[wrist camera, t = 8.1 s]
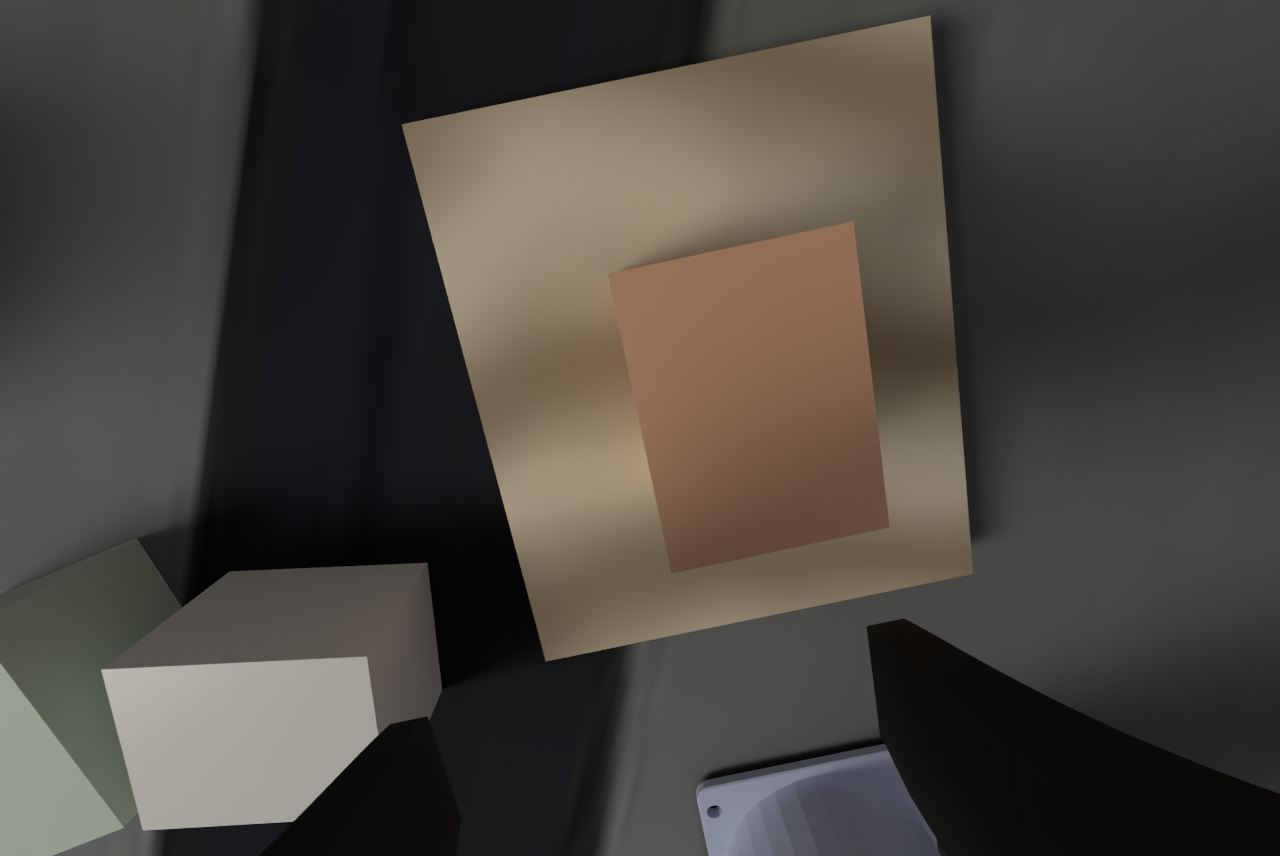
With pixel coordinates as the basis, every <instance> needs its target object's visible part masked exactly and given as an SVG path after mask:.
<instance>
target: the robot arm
mask: <svg viewBox="0 0 1280 856" xmlns="http://www.w3.org/2000/svg"><path fill="white" fill-rule="evenodd" d="M867 633H868V641H869V649H870V657H871V665H872V673H873V681H874V689H875V697H876V705H877V713H878V721H879V729H880V734H881V736H882V739H883V741H884V743H885V744H880V745H876V746H871V747H866V748H861V749H856V750H851V751H846V752H841V753H836V754H832V755H827V756H822V757H817V758H812V759H807V760H802V761H797V762H792V763H788V764H783V765H778V766H773V767H768V768H763V769H758V770H753V771H748V772H744V773H739V774H734V775H729V776H724V777H719V778H714V779H709V780H706V781H703V782H702V783H701V784H699V785H698V787H697V789H696V797H697V803H698V807H699V812H700V817H701V821H702V826H703V831H704V835H705V840H706V845H707V849H708V854H709V856H941V855H940V853H939V851H938V847H937V840H938V842H939V844H940V845H941V847H942V848H943V850H944V852H945V853H946V855H947V856H1280V794H1279V793H1276V792H1273V791H1270V790H1268V789H1265V788H1262V787H1259V786H1256V785H1253V784H1250V783H1248V782H1245V781H1242V780H1240V779H1237V778H1234V777H1232V776H1229V775H1226V774H1224V773H1221V772H1218V771H1216V770H1213V769H1210V768H1208V767H1205V766H1203V765H1200V764H1198V763H1195V762H1193V761H1191V760H1188V759H1186V758H1183V757H1181V756H1178V755H1176V754H1173V753H1171V752H1168V751H1166V750H1164V749H1161V748H1159V747H1156V746H1154V745H1151V744H1149V743H1146V742H1144V741H1142V740H1139V739H1137V738H1135V737H1132V736H1130V735H1128V734H1126V733H1123V732H1121V731H1119V730H1117V729H1114V728H1112V727H1110V726H1108V725H1106V724H1104V723H1101V722H1099V721H1097V720H1095V719H1093V718H1091V717H1089V716H1087V715H1085V714H1082V713H1080V712H1078V711H1076V710H1074V709H1072V708H1070V707H1068V706H1066V705H1064V704H1061V703H1059V702H1057V701H1055V700H1053V699H1051V698H1050V697H1048V696H1046V695H1044V694H1042V693H1040V692H1038V691H1036V690H1034V689H1032V688H1030V687H1028V686H1026V685H1024V684H1022V683H1020V682H1018V681H1016V680H1015V679H1013V678H1011V677H1009V676H1007V675H1005V674H1003V673H1002V672H1000V671H998V670H996V669H994V668H992V667H991V666H989V665H987V664H985V663H983V662H981V661H980V660H978V659H976V658H974V657H972V656H971V655H969V654H967V653H965V652H964V651H962V650H960V649H958V648H956V647H955V646H953V645H951V644H949V643H948V642H946V641H944V640H942V639H940V638H939V637H937V636H935V635H933V634H932V633H930V632H928V631H926V630H924V629H923V628H921V627H919V626H917V625H915V624H913V623H912V622H910V621H908V620H906V619H900V620H895V621H890V622H885V623H880V624H875V625H870V626H867ZM713 805H717V806H718V807H716V808H709V807H711V806H713ZM460 825H461V816H460V813H459V810H458V807H457V804H456V801H455V798H454V795H453V792H452V789H451V786H450V783H449V780H448V777H447V774H446V771H445V768H444V765H443V762H442V759H441V756H440V753H439V750H438V746H437V743H436V740H435V737H434V734H433V731H432V728H431V725H430V722H429V719H428V716H426V717H421V718H416V719H411V720H406V721H402V722H397V723H392V724H390V725H389V726H388V727H387V728H385V729H384V730H383V731H382V732H381V733H380V734H379V735H378V736H377V737H376V738H375V739H374V740H373V741H372V742H371V743H370V744H369V745H368V746H367V747H366V748H365V749H364V750H363V751H362V752H361V753H360V754H359V755H358V756H357V757H356V758H355V759H354V760H353V761H352V762H351V763H350V764H349V765H348V766H347V767H346V768H345V769H344V770H343V771H342V772H341V773H340V774H339V775H338V776H337V777H336V778H335V779H334V781H333V782H332V783H331V784H330V785H329V786H328V787H327V788H326V789H325V790H324V791H323V792H322V793H321V794H320V795H319V796H318V797H317V798H316V799H315V800H314V801H313V802H312V803H311V804H310V805H309V806H308V807H307V808H306V809H305V810H304V811H303V812H302V813H301V814H300V815H299V816H298V817H297V818H296V819H295V821H294V822H293V823H292V824H291V825H290V826H289V827H288V828H287V829H286V830H285V831H284V832H283V833H282V834H281V835H280V836H279V837H278V838H277V839H276V840H275V841H274V842H273V843H271V844H270V845H269V846H268V847H267V848H266V849H265V850H264V851H263V852H262V853H261V854H260V855H259V856H456V853H457V846H458V839H459V832H460Z"/></svg>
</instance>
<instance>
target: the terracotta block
mask: <svg viewBox="0 0 1280 856" xmlns="http://www.w3.org/2000/svg"><path fill="white" fill-rule="evenodd" d="M608 278H609V283H610V288H611V292H612V297H613V302H614V306H615V311H616V316H617V320H618V325H619V330H620V335H621V339H622V344H623V349H624V353H625V358H626V363H627V367H628V372H629V377H630V381H631V386H632V391H633V395H634V400H635V405H636V409H637V414H638V419H639V424H640V428H641V433H642V438H643V442H644V447H645V452H646V456H647V461H648V466H649V470H650V475H651V480H652V484H653V489H654V494H655V498H656V503H657V508H658V513H659V517H660V522H661V527H662V531H663V536H664V541H665V545H666V550H667V555H668V559H669V564H670V569H671V573H677V572H682V571H686V570H691V569H696V568H701V567H705V566H710V565H715V564H719V563H724V562H729V561H734V560H738V559H743V558H748V557H752V556H757V555H762V554H767V553H771V552H776V551H781V550H785V549H790V548H795V547H800V546H804V545H809V544H814V543H819V542H823V541H828V540H833V539H837V538H842V537H847V536H852V535H856V534H861V533H866V532H870V531H875V530H880V529H885V528H889V527H890V526H889V517H888V509H887V500H886V492H885V483H884V475H883V466H882V458H881V450H880V441H879V433H878V424H877V416H876V407H875V399H874V390H873V382H872V373H871V365H870V356H869V348H868V339H867V331H866V323H865V314H864V306H863V297H862V289H861V280H860V272H859V263H858V255H857V246H856V238H855V229H854V221H853V222H848V223H843V224H839V225H834V226H829V227H825V228H820V229H815V230H811V231H806V232H801V233H797V234H792V235H787V236H783V237H778V238H773V239H769V240H764V241H759V242H755V243H750V244H745V245H740V246H736V247H731V248H726V249H722V250H717V251H712V252H708V253H703V254H698V255H694V256H689V257H684V258H680V259H675V260H670V261H666V262H661V263H656V264H652V265H647V266H642V267H638V268H633V269H628V270H624V271H619V272H614V273H609V274H608Z"/></svg>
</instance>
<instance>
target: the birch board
mask: <svg viewBox="0 0 1280 856" xmlns="http://www.w3.org/2000/svg"><path fill="white" fill-rule="evenodd" d="M402 127H403V131H404V135H405V138H406V142H407V146H408V149H409V153H410V157H411V161H412V164H413V168H414V172H415V176H416V179H417V183H418V187H419V190H420V194H421V198H422V202H423V205H424V209H425V213H426V217H427V220H428V224H429V228H430V231H431V235H432V239H433V243H434V246H435V250H436V254H437V258H438V261H439V265H440V269H441V272H442V276H443V280H444V284H445V287H446V291H447V295H448V299H449V302H450V306H451V310H452V313H453V317H454V321H455V325H456V328H457V332H458V336H459V339H460V343H461V347H462V351H463V354H464V358H465V362H466V366H467V369H468V373H469V377H470V380H471V384H472V388H473V392H474V395H475V399H476V403H477V407H478V410H479V414H480V418H481V421H482V425H483V429H484V433H485V436H486V440H487V444H488V448H489V451H490V455H491V459H492V462H493V466H494V470H495V474H496V477H497V481H498V485H499V488H500V492H501V496H502V500H503V503H504V507H505V511H506V515H507V518H508V522H509V526H510V529H511V533H512V537H513V541H514V544H515V548H516V552H517V556H518V559H519V563H520V567H521V570H522V574H523V578H524V582H525V585H526V589H527V593H528V597H529V600H530V604H531V608H532V611H533V615H534V619H535V623H536V626H537V630H538V634H539V637H540V641H541V645H542V649H543V652H544V656H545V660H546V661H550V660H555V659H560V658H565V657H570V656H575V655H580V654H584V653H589V652H594V651H599V650H604V649H609V648H614V647H619V646H624V645H628V644H633V643H638V642H643V641H648V640H653V639H658V638H663V637H668V636H672V635H677V634H682V633H687V632H692V631H697V630H702V629H707V628H711V627H716V626H721V625H726V624H731V623H736V622H741V621H746V620H751V619H755V618H760V617H765V616H770V615H775V614H780V613H785V612H790V611H794V610H799V609H804V608H809V607H814V606H819V605H824V604H829V603H834V602H838V601H843V600H848V599H853V598H858V597H863V596H868V595H873V594H878V593H882V592H887V591H892V590H897V589H902V588H907V587H912V586H917V585H921V584H926V583H931V582H936V581H941V580H946V579H951V578H956V577H961V576H965V575H970V574H973V567H972V554H971V540H970V527H969V514H968V501H967V488H966V475H965V462H964V449H963V436H962V423H961V410H960V397H959V384H958V371H957V358H956V345H955V331H954V318H953V305H952V292H951V279H950V266H949V253H948V240H947V227H946V214H945V201H944V188H943V175H942V162H941V149H940V136H939V123H938V109H937V96H936V83H935V70H934V57H933V44H932V31H931V18H930V16H926V17H921V18H916V19H911V20H907V21H902V22H897V23H892V24H887V25H882V26H878V27H873V28H868V29H863V30H858V31H853V32H848V33H844V34H839V35H834V36H829V37H824V38H819V39H814V40H810V41H805V42H800V43H795V44H790V45H785V46H780V47H776V48H771V49H766V50H761V51H756V52H751V53H746V54H742V55H737V56H732V57H727V58H722V59H717V60H713V61H708V62H703V63H698V64H693V65H688V66H683V67H679V68H674V69H669V70H664V71H659V72H654V73H649V74H645V75H640V76H635V77H630V78H625V79H620V80H615V81H611V82H606V83H601V84H596V85H591V86H586V87H582V88H577V89H572V90H567V91H562V92H557V93H552V94H548V95H543V96H538V97H533V98H528V99H523V100H518V101H514V102H509V103H504V104H499V105H494V106H489V107H484V108H480V109H475V110H470V111H465V112H460V113H455V114H450V115H446V116H441V117H436V118H431V119H426V120H421V121H417V122H412V123H407V124H402ZM853 221H854V229H855V238H856V246H857V255H858V263H859V272H860V280H861V289H862V297H863V306H864V314H865V323H866V331H867V339H868V348H869V356H870V365H871V373H872V382H873V390H874V399H875V407H876V416H877V424H878V433H879V441H880V450H881V458H882V466H883V475H884V483H885V492H886V500H887V509H888V517H889V526H890V527H889V528H885V529H880V530H875V531H870V532H866V533H861V534H856V535H852V536H847V537H842V538H837V539H833V540H828V541H823V542H819V543H814V544H809V545H804V546H800V547H795V548H790V549H785V550H781V551H776V552H771V553H767V554H762V555H757V556H752V557H748V558H743V559H738V560H734V561H729V562H724V563H719V564H715V565H710V566H705V567H701V568H696V569H691V570H686V571H682V572H677V573H671V569H670V564H669V559H668V555H667V550H666V545H665V541H664V536H663V531H662V527H661V522H660V517H659V513H658V508H657V503H656V498H655V494H654V489H653V484H652V480H651V475H650V470H649V466H648V461H647V456H646V452H645V447H644V442H643V438H642V433H641V428H640V424H639V419H638V414H637V409H636V405H635V400H634V395H633V391H632V386H631V381H630V377H629V372H628V367H627V363H626V358H625V353H624V349H623V344H622V339H621V335H620V330H619V325H618V320H617V316H616V311H615V306H614V302H613V297H612V292H611V288H610V283H609V278H608V274H609V273H614V272H619V271H624V270H628V269H633V268H638V267H642V266H647V265H652V264H656V263H661V262H666V261H670V260H675V259H680V258H684V257H689V256H694V255H698V254H703V253H708V252H712V251H717V250H722V249H726V248H731V247H736V246H740V245H745V244H750V243H755V242H759V241H764V240H769V239H773V238H778V237H783V236H787V235H792V234H797V233H801V232H806V231H811V230H815V229H820V228H825V227H829V226H834V225H839V224H843V223H848V222H853Z"/></svg>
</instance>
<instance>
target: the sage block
mask: <svg viewBox="0 0 1280 856" xmlns="http://www.w3.org/2000/svg"><path fill="white" fill-rule="evenodd" d="M181 608H182V606H181V605H180V603H179V602H178V600H177V599H176V597H175V596H174V594H173V593H172V591H171V590H170V588H169V587H168V585H167V584H166V582H165V581H164V579H163V577H162V576H161V574H160V573H159V571H158V570H157V568H156V567H155V565H154V564H153V562H152V561H151V559H150V558H149V556H148V555H147V553H146V552H145V550H144V549H143V547H142V545H141V544H140V542H139V541H138V539H137V538H135V539H133V540H130V541H128V542H125V543H123V544H120V545H118V546H116V547H113V548H111V549H108V550H106V551H103V552H101V553H99V554H96V555H94V556H91V557H89V558H86V559H84V560H82V561H79V562H77V563H74V564H72V565H69V566H67V567H64V568H62V569H60V570H57V571H55V572H52V573H50V574H47V575H45V576H43V577H40V578H38V579H35V580H33V581H30V582H28V583H26V584H23V585H21V586H18V587H16V588H13V589H11V590H9V591H6V592H4V593H2V594H0V856H52V855H55V854H58V853H60V852H63V851H65V850H68V849H70V848H73V847H76V846H78V845H81V844H83V843H86V842H88V841H91V840H94V839H96V838H99V837H101V836H104V835H106V834H109V833H112V832H114V831H117V830H119V829H122V828H124V827H125V826H126V825H127V824H128V823H129V822H130V820H131V819H132V818H133V817H134V816H135V815H136V814H137V813H138V810H137V806H136V802H135V798H134V794H133V791H132V787H131V783H130V779H129V775H128V771H127V767H126V764H125V760H124V756H123V752H122V748H121V744H120V741H119V737H118V733H117V729H116V725H115V721H114V717H113V714H112V710H111V706H110V702H109V698H108V694H107V691H106V687H105V683H104V679H103V675H102V671H101V669H102V668H104V667H105V666H106V665H108V664H109V663H110V662H112V661H113V660H114V659H116V658H117V657H118V656H120V655H121V654H122V653H123V652H125V651H126V650H127V649H129V648H130V647H131V646H133V645H134V644H135V643H137V642H138V641H139V640H140V639H142V638H143V637H144V636H146V635H147V634H148V633H150V632H151V631H152V630H154V629H155V628H156V627H158V626H159V625H160V624H161V623H163V622H164V621H165V620H167V619H168V618H169V617H171V616H172V615H173V614H175V613H176V612H177V611H179V610H180V609H181Z"/></svg>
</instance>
